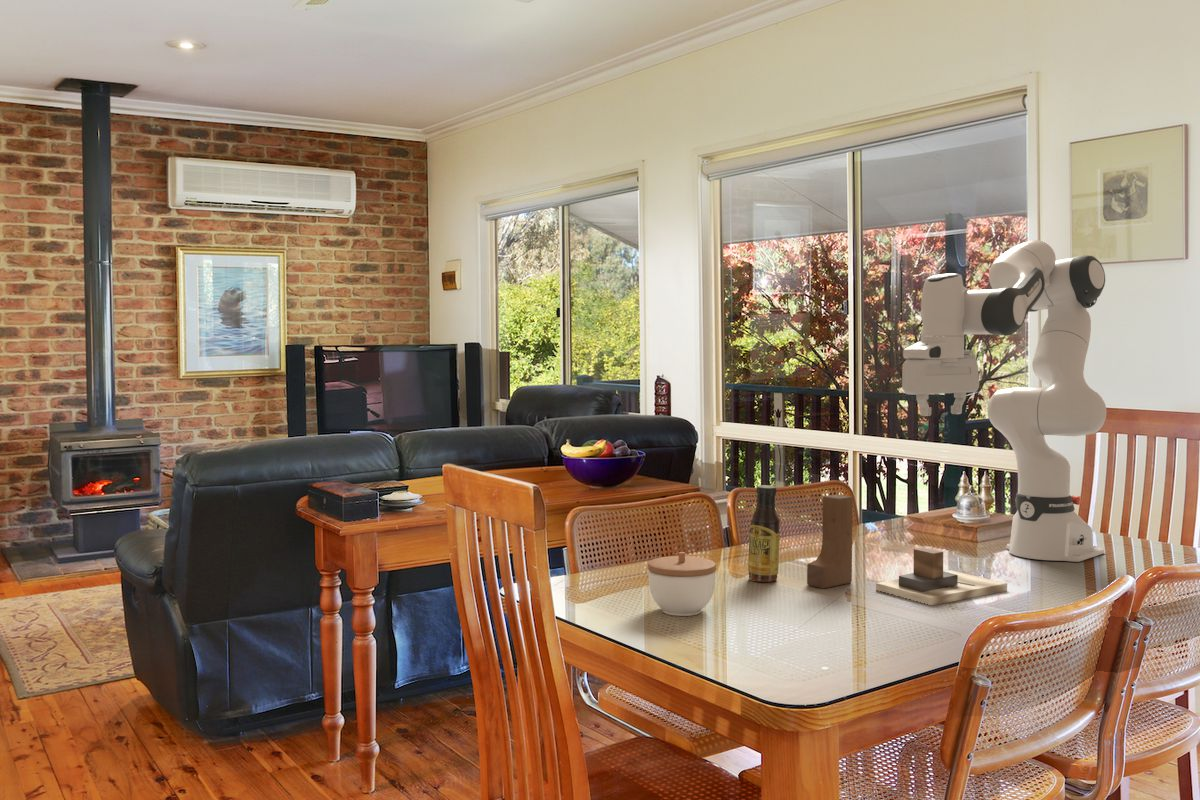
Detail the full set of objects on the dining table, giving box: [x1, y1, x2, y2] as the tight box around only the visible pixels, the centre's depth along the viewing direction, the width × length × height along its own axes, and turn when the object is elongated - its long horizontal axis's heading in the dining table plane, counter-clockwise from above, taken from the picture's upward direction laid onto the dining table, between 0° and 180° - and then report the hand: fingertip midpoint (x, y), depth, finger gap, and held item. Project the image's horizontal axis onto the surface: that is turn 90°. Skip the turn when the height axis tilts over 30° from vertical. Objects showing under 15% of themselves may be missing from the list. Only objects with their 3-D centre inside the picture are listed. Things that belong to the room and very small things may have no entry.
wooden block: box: [806, 494, 854, 590], centre depth 215 cm, size 9×4×18 cm, turn 126°
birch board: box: [875, 569, 1008, 606], centre depth 209 cm, size 22×14×2 cm, turn 121°
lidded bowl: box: [647, 551, 717, 617], centre depth 194 cm, size 13×13×11 cm
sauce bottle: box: [747, 484, 781, 584], centre depth 218 cm, size 6×6×20 cm
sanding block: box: [898, 546, 958, 592], centre depth 207 cm, size 10×6×7 cm, turn 121°
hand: (941, 414), depth 223 cm, fingers open, 8 cm apart
